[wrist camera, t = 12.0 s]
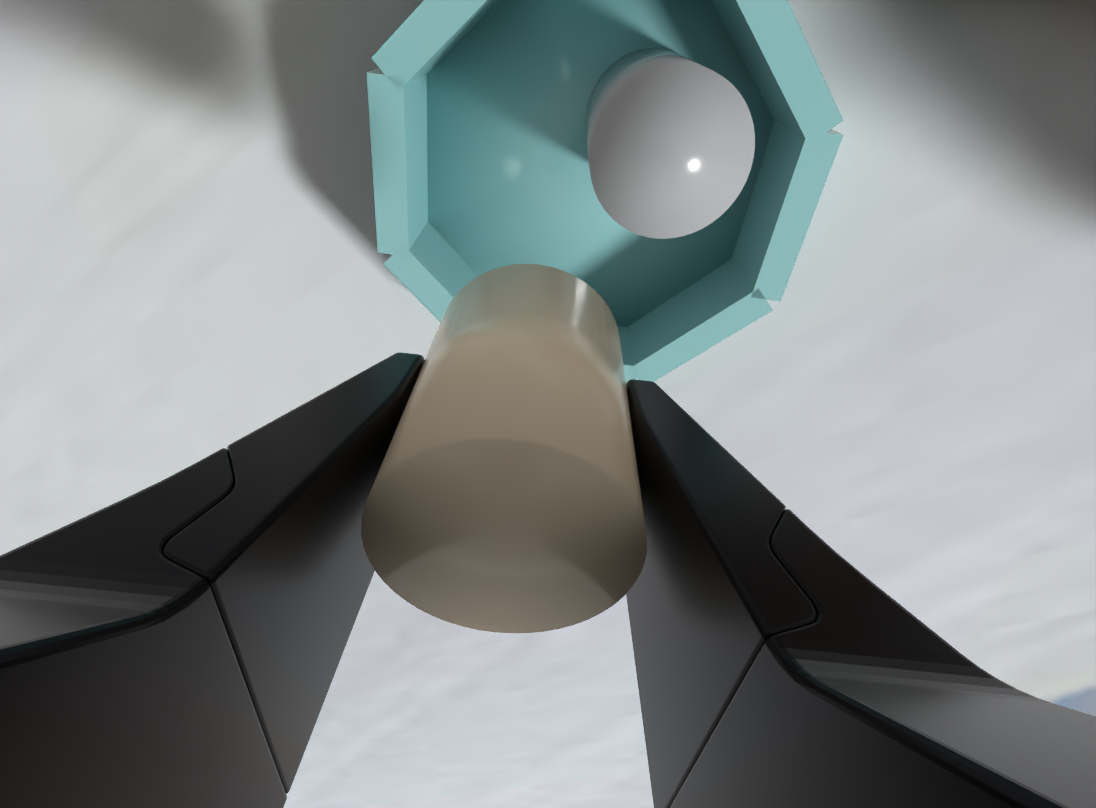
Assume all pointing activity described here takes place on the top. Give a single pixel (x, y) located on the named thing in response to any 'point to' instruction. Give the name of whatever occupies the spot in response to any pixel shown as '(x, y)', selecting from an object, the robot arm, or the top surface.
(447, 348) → the sand beige cylinder
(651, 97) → the grey rounded cylinder
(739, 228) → the bowl
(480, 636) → the top surface
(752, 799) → the robot arm
